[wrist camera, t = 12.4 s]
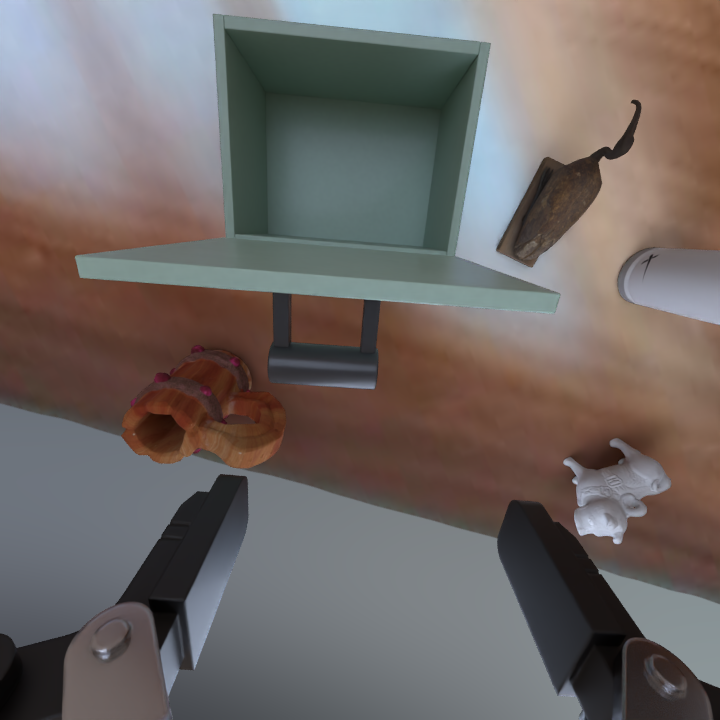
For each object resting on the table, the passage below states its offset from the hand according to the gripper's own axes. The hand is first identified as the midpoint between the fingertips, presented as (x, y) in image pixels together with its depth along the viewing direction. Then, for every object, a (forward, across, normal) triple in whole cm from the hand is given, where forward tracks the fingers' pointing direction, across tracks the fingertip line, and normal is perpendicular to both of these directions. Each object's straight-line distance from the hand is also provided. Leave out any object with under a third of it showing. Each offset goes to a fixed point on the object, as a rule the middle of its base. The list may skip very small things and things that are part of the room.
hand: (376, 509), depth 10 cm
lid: (+12, +3, -6) cm, 14 cm away
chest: (+31, +3, -13) cm, 34 cm away
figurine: (+32, -18, -13) cm, 39 cm away
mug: (+31, +14, +11) cm, 36 cm away
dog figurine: (+31, -34, +20) cm, 50 cm away
